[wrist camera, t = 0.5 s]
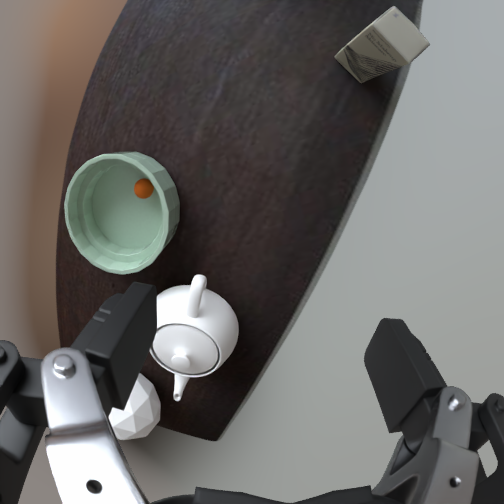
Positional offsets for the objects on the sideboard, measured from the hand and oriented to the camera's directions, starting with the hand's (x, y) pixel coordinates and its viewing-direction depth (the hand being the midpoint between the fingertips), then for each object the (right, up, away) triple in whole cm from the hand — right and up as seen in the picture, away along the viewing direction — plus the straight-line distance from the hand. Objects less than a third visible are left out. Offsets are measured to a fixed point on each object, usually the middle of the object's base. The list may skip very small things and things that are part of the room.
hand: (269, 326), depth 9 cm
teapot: (-9, -8, +33) cm, 35 cm away
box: (+13, +27, +19) cm, 35 cm away
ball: (-14, +10, +24) cm, 29 cm away
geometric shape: (-24, -23, +40) cm, 52 cm away
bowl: (-17, +9, +26) cm, 33 cm away
